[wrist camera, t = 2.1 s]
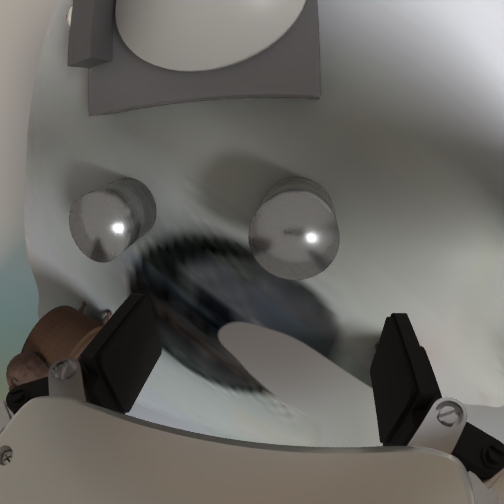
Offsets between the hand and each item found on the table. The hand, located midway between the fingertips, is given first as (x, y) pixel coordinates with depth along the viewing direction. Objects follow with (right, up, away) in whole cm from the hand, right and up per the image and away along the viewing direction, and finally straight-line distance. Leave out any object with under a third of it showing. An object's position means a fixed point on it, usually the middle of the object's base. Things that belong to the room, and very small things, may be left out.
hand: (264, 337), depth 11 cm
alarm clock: (-21, -7, +25) cm, 34 cm away
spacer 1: (-12, +8, +16) cm, 22 cm away
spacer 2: (+3, +6, +14) cm, 16 cm away
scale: (-5, +24, +7) cm, 26 cm away
